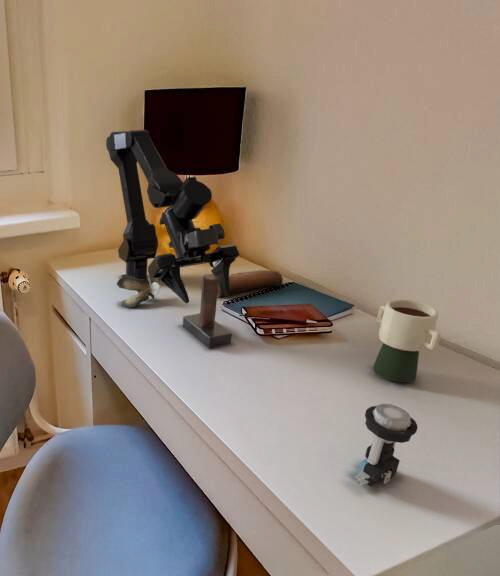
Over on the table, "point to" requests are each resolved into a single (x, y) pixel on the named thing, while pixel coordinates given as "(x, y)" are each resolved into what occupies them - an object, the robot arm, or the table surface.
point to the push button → (384, 442)
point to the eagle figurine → (139, 286)
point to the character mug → (404, 338)
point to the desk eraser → (208, 317)
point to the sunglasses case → (252, 281)
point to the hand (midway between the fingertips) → (207, 298)
